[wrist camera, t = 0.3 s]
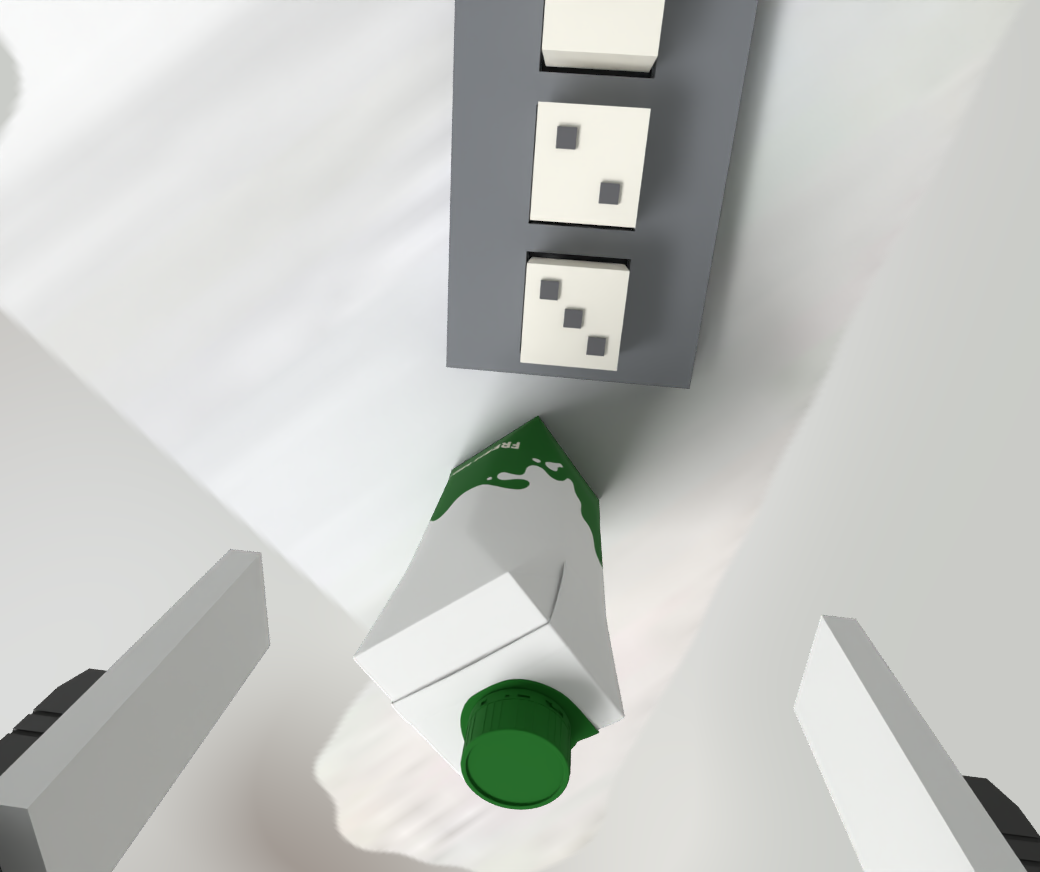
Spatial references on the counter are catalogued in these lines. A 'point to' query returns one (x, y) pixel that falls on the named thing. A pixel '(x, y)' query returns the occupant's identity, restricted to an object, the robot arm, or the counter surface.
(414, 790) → the counter surface
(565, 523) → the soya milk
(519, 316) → the keypad board
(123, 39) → the counter surface
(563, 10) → the key one
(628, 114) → the key two
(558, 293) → the key three
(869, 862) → the robot arm
